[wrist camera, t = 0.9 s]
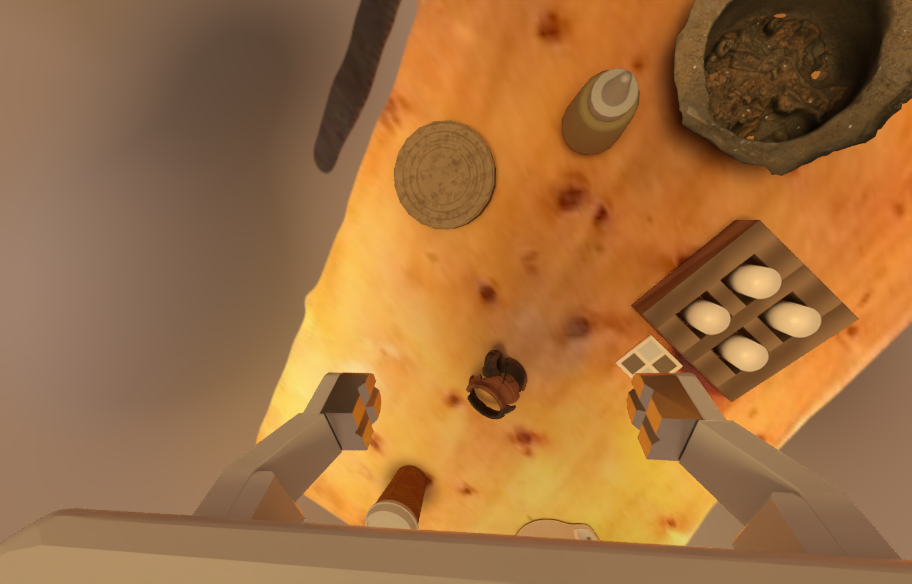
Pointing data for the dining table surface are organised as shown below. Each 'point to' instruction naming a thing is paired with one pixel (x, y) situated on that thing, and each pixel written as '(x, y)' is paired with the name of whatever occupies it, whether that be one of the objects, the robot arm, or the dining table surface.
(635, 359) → the tile
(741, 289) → the beige egg
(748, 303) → the button board
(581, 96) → the squeeze bottle
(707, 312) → the egg
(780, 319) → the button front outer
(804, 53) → the stone bowl
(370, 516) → the disposable coffee cup
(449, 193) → the brown wooden disc
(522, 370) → the pottery mug
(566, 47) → the dining table surface
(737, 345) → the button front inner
